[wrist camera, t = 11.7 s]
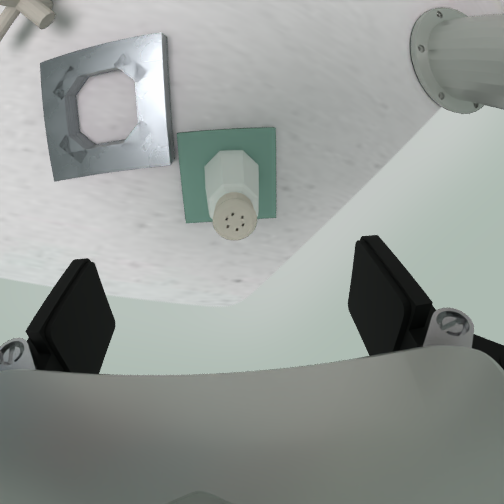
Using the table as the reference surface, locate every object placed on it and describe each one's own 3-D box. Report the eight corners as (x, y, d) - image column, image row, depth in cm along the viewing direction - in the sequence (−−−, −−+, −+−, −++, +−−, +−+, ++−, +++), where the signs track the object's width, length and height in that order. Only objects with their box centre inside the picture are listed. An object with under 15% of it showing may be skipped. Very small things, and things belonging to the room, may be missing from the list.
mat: (274, 127, 28) (275, 127, 28) (275, 215, 32) (276, 217, 32) (177, 132, 28) (176, 133, 27) (186, 221, 32) (186, 223, 31)
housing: (166, 37, 23) (161, 32, 21) (174, 158, 29) (170, 165, 27) (53, 63, 22) (40, 62, 20) (65, 174, 28) (54, 181, 26)
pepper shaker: (194, 191, 30) (180, 245, 20) (214, 139, 28) (208, 167, 18) (247, 210, 31) (257, 269, 22) (269, 160, 29) (292, 198, 19)
